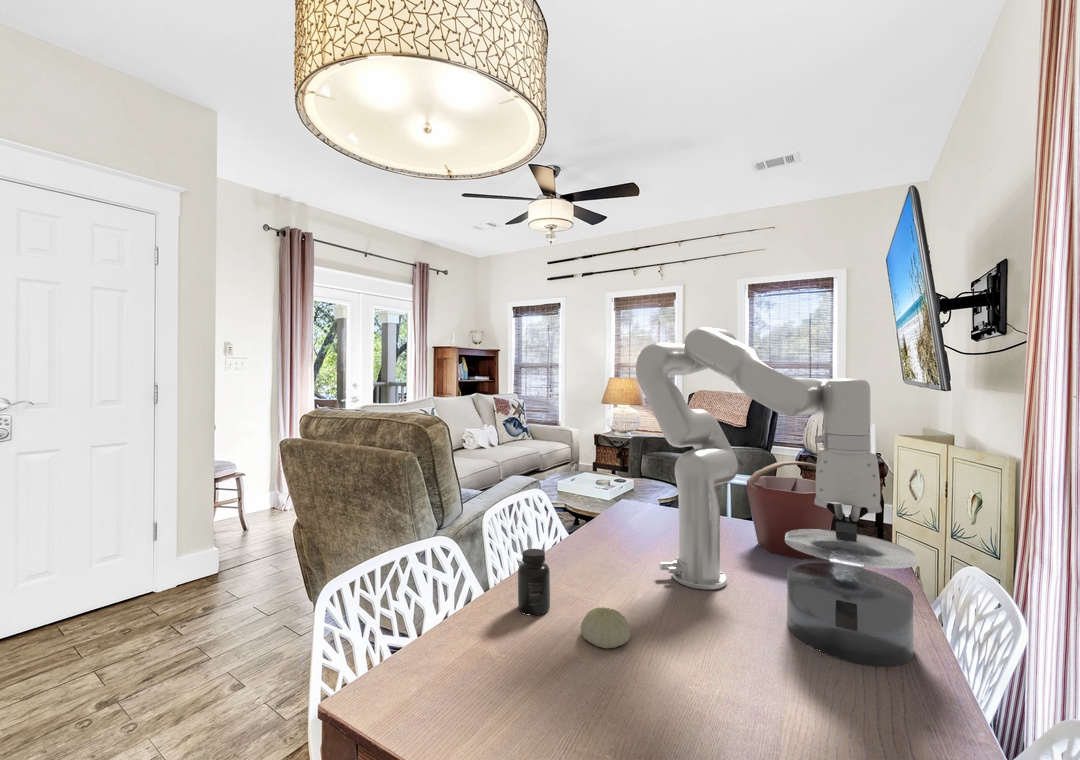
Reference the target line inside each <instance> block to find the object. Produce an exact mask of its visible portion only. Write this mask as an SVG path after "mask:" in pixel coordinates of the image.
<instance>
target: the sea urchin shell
mask: <svg viewBox="0 0 1080 760" xmlns="http://www.w3.org/2000/svg"><path fill="white" fill-rule="evenodd" d="M580 625H581V626H580V633H581V635H582V636H583V639H585V640H586V641H587V642H588V643H590V644H592V645H594V646H595V647H599V648H603V649H615V648H618V647H622V646H623V645H624V644H626V643H627V642H628V641H629V639H630V638H631V635H632V634H631V628H630V624H629V623H628V620H627V619H626V617H625V616H624V615H622V614H621V613H620V611H618V610H615V609H613V608H610V607H595V608H593V609H591V610H589V611H588V612H587V613H586V615H585V616H584V617H583V619H582V621H581V624H580Z"/></svg>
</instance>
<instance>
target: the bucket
mask: <svg viewBox="0 0 1080 760" xmlns="http://www.w3.org/2000/svg"><path fill="white" fill-rule="evenodd" d="M792 465H793V466H794V465H796V466H798V465H799V466H800V465H802V466H808V467H814V468H816V465H817V463H816V464H815V463H811V462H805V461H796V460H795V461H793V460H790V461H789V460H788V461H787V460H786V461H777V462H775V463H772V464H770V465H767V466H765V467H763V468H761V469H759V470H756V471H754V472H753V474H752V475H750V477H749V478H748V480H746V493H747V497H748V502H749V506H750V511H751V512H750V513H751V516H752V521H753V522H752V523H753V525H754V531H755V536H756V540H757V545H759V544H760V545H761V546H760V545H759V546H760V547H761V548H763V547H764V548H765V549H764V548H763V549H764V550H765V551H767V552H769V553H770V554H772V555H778V556H782V557H788V558H792V559H797V560H800V561H801V560H809V559H817V558H819V557H816V556H812V555H809V554H806V553H803V552H801V551H798V550H796V549H794V548H792V547H790V546H788V545H787V544H786V543H785V534H786V533H787V532H789V531H792V530H798V529H822V530H831V528H832V524H833V518H834V516H835V515H834V514H833V513H832V512H831V511H830V510H829V509H827V508H824V507H821V506H818V505H815V503H814V501H815V497H816V480H814V479H813V480H812V479H808V478H802V477H796V476H795V477H794V476H793V477H792V476H773V475H772V476H769V475H768V476H767V475H765V474H768V473H770V472H772V471H775V470H777V469H780V468H782V467H784V466H792ZM819 559H820V558H819Z"/></svg>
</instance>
